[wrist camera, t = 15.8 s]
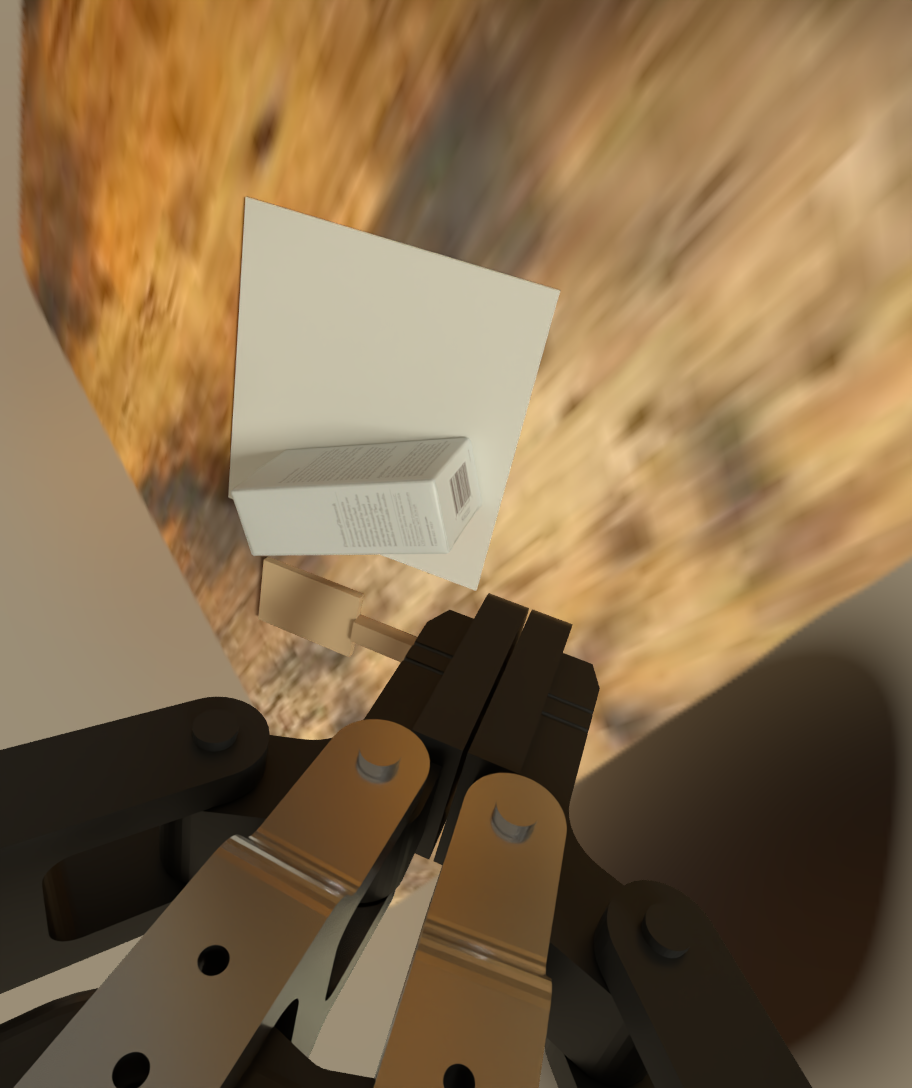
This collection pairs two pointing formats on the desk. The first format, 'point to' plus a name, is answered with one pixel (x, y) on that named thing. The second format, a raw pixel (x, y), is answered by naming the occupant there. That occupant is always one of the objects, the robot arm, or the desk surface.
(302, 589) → the wooden turner
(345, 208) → the desk surface
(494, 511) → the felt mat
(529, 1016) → the robot arm
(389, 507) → the skincare box
